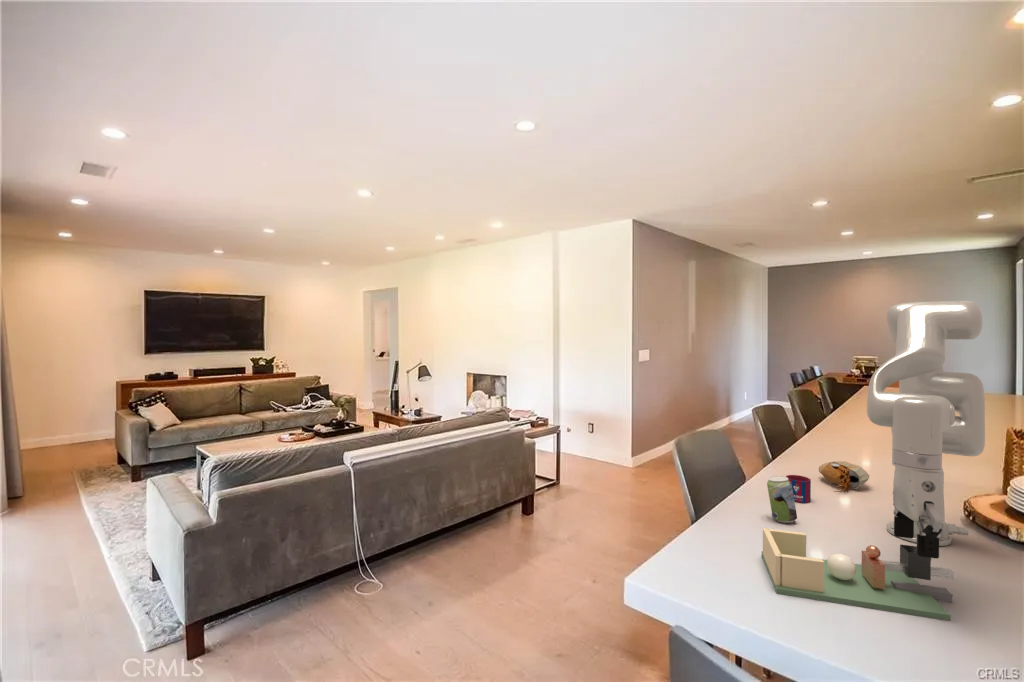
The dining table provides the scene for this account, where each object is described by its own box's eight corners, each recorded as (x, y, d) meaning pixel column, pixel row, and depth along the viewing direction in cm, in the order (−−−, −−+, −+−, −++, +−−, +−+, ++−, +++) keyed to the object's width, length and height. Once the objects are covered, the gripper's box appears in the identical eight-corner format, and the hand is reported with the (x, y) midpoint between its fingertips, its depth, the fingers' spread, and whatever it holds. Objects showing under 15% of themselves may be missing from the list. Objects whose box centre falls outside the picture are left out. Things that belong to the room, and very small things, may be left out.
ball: (851, 574, 100) (851, 551, 100) (860, 586, 95) (860, 562, 95) (823, 571, 102) (823, 548, 101) (831, 582, 97) (831, 558, 97)
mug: (783, 500, 148) (783, 478, 148) (789, 491, 155) (789, 471, 155) (808, 505, 143) (809, 482, 143) (813, 496, 151) (813, 475, 151)
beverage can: (800, 526, 128) (801, 481, 128) (771, 523, 129) (771, 480, 129) (791, 517, 134) (792, 475, 134) (763, 515, 135) (764, 473, 135)
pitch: (926, 577, 101) (927, 545, 101) (975, 624, 85) (975, 585, 84) (761, 555, 111) (761, 525, 111) (776, 593, 95) (776, 558, 95)
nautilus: (861, 501, 148) (806, 492, 159) (875, 482, 162) (824, 475, 173) (859, 476, 148) (805, 469, 159) (873, 459, 162) (823, 453, 173)
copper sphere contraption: (943, 584, 95) (944, 547, 95) (960, 600, 90) (961, 561, 89) (860, 572, 100) (860, 537, 100) (871, 587, 94) (872, 549, 94)
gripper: (965, 473, 84) (964, 569, 84) (918, 452, 101) (916, 532, 101) (914, 468, 87) (913, 562, 87) (876, 449, 103) (874, 527, 103)
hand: (915, 546), depth 94 cm, fingers open, 9 cm apart
